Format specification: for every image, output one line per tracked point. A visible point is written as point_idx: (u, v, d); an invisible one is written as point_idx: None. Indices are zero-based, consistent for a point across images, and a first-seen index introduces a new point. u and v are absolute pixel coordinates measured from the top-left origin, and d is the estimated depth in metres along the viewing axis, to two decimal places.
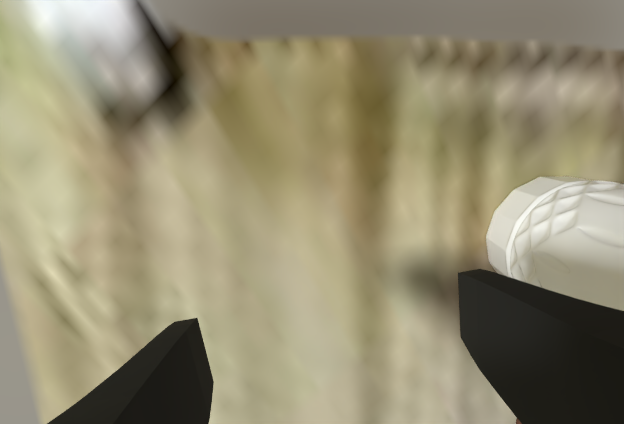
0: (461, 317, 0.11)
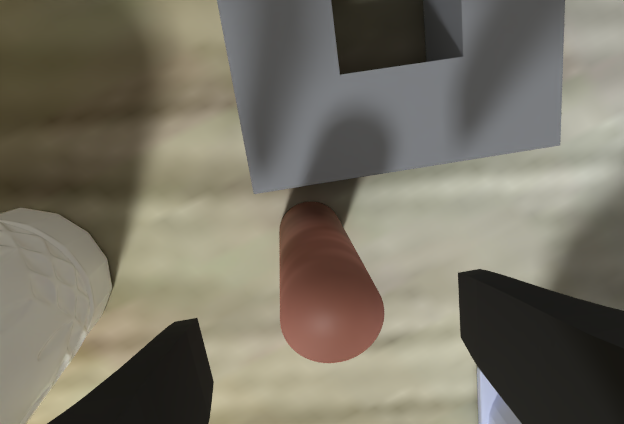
0: (461, 317, 0.11)
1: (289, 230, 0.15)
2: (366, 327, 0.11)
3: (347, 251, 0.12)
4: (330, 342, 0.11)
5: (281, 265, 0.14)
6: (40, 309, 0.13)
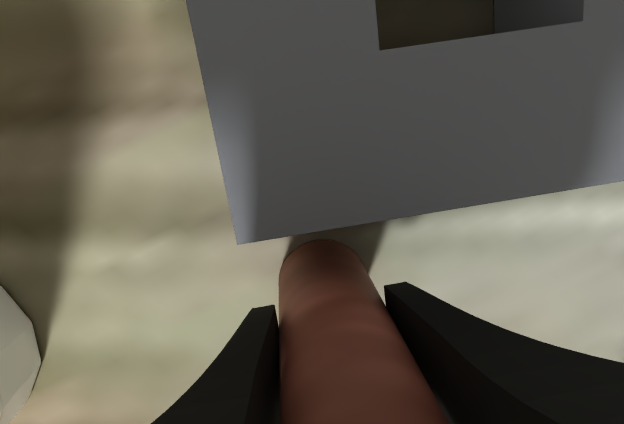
0: None
1: (294, 295, 0.10)
2: None
3: (400, 362, 0.07)
4: None
5: (282, 369, 0.08)
6: None
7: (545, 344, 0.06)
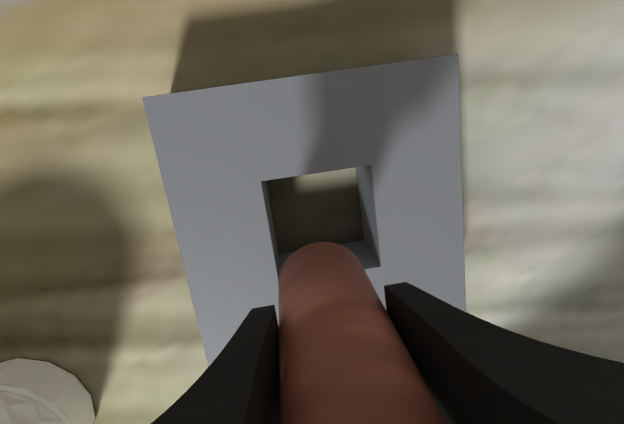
0: None
1: (295, 296, 0.10)
2: None
3: (402, 367, 0.07)
4: None
5: (282, 370, 0.08)
6: None
7: (545, 344, 0.06)
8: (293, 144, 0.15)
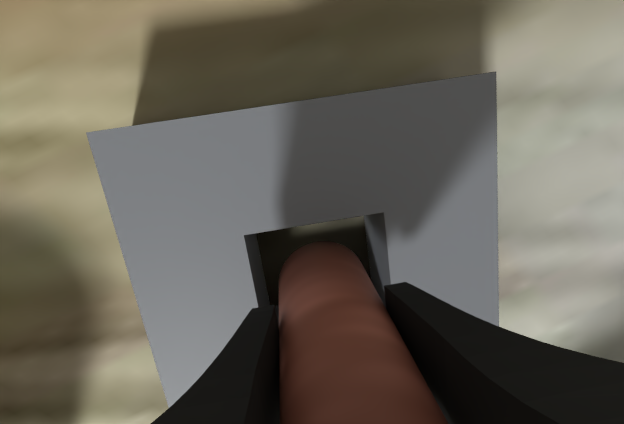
0: None
1: (295, 295, 0.10)
2: None
3: (403, 365, 0.07)
4: None
5: (283, 369, 0.08)
6: None
7: (545, 344, 0.06)
8: (284, 189, 0.12)
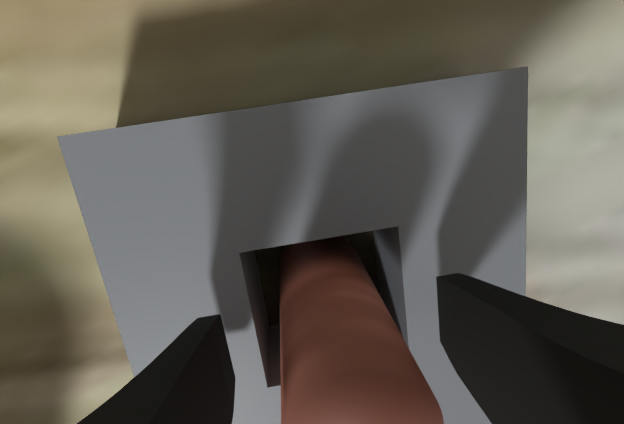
0: (440, 321, 0.10)
1: (294, 271, 0.11)
2: None
3: (382, 321, 0.08)
4: None
5: (283, 329, 0.10)
6: None
7: None
8: (285, 201, 0.10)
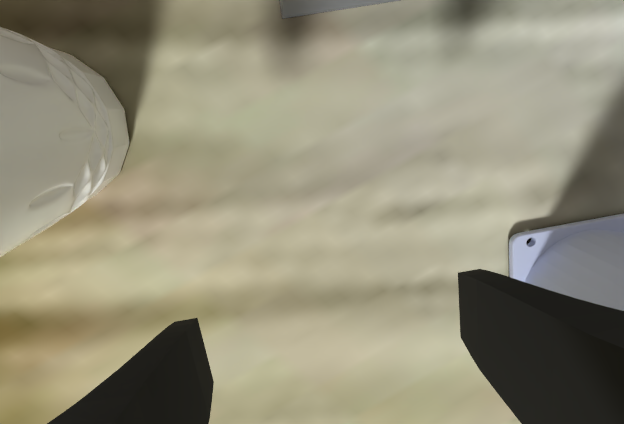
0: (461, 317, 0.11)
1: None
2: None
3: None
4: None
5: None
6: (60, 93, 0.12)
7: None
8: None
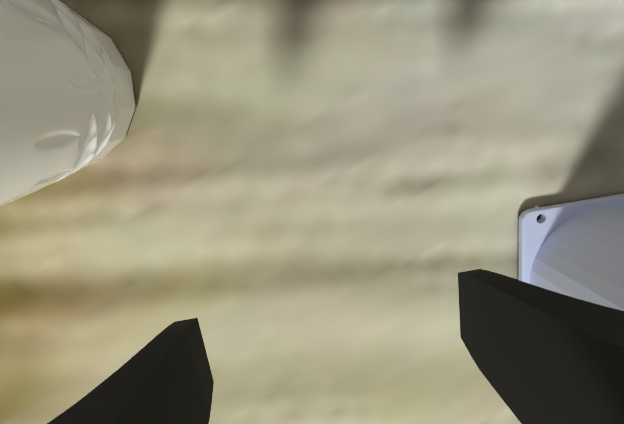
0: (461, 317, 0.11)
1: None
2: None
3: None
4: None
5: None
6: (68, 37, 0.11)
7: None
8: None
